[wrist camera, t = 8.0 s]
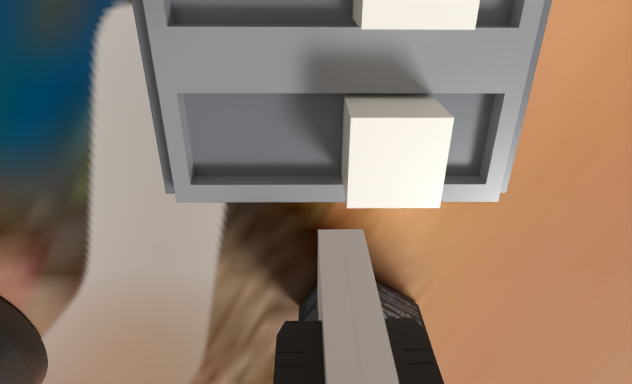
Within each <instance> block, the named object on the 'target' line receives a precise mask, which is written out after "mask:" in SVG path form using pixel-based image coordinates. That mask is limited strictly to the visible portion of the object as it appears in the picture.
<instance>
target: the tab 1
mask: <svg viewBox="0 0 632 384" xmlns="http://www.w3.org/2000/svg"><path fill="white" fill-rule="evenodd" d="M479 3H480V0H353V16H352V19H353V20H354V21H355V22H356V24H357V25H358V26H359V27H360V28H361V29H401V30H475V27H476V21H477V15H478V9H479Z"/></svg>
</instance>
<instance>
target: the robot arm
mask: <svg viewBox="0 0 632 384" xmlns="http://www.w3.org/2000/svg"><path fill="white" fill-rule="evenodd" d="M318 317H319V321H285V323H284V324H283V326H282V328H281V329H280V331H279V333H278V334H277V339H276V355H275V369H274V381H273V384H444V382H443V379H442V376H441V373H440V370H439V367H438V366H437V361H436V358H435V355H434V353H433V352H432V347H431V344H430V341H429V338H428V335H427V332H426V331H425V330H424V329H423V327H422V326H421V325H420V324H419V323H418V322H417V321H416V319H415V318H384V316H383V312H382V307H381V303H380V299H379V294H378V290H377V286H376V281H375V277H374V273H373V269H372V264H371V260H370V256H369V251H368V247H367V243H366V238H365V234H364V230H363V229H343V230H318ZM47 368H48V359H47V353H46V349H45V346H44V344H43V342H42V340H41V338H40V336H39V335H38V333H37V332H36V330H35V329H34V328H33V326H32V325H31V324H30V323H29V322H28V320H27V319H26V318H25V317H24V316H23V315H21V314H20V313H19V312H18V311H17V310H16V309H14V308H13V307H12V306H11V305H9V304H8V303H6V302H5V301H3V300H2V299H0V384H42V382H43V380H44V378H45V376H46V373H47Z"/></svg>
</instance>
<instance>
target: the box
mask: <svg viewBox="0 0 632 384" xmlns="http://www.w3.org/2000/svg"><path fill="white" fill-rule="evenodd" d="M376 286H377V290H378V294H379V299H380V303H381V307H382V312H383V316H384V318H415V319H416V321H417V322H418V323H419V324H420V325H421V326H422V327H423V329H424V330H425V331H426V327H425V325H424V322H423V319H422V315H421V312H420V309H419V306H418V305H417V304H416V303H414V302H412V301H410V300H408V299H407V298H405V297H403V296H401V295H400V294H398V293H396V292H394V291H392V290H391V289H389V288H387V287H385V286H383V285H381V284H380V283H378V282H376ZM299 321H319V317H318V285H317V286H316V287H315V289H314V290H313V291H312V292H311V293H310V294H309V295H308V297H307V298H306V299H305V300H304V301H303V302H302V304H301V305H300V306H299ZM426 332H427V331H426ZM427 335H428V334H427ZM428 338H429V337H428ZM429 341H430V340H429ZM430 344H431V343H430ZM431 347H432V346H431ZM432 352H433V349H432ZM437 366H438V364H437Z"/></svg>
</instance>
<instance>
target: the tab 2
mask: <svg viewBox="0 0 632 384" xmlns="http://www.w3.org/2000/svg"><path fill="white" fill-rule="evenodd" d="M453 123H454V117H453V116H452V115H451V114H450V113H449V112H448V111H447V110H446V109H445V108H444V107H443V106H442V105H441V104H440V103H439V102H438V101H437V100H436V99H435V97H434V96H433V95H432V94H344V111H343V139H342V167H341V175H342V181H343V187H344V194H345V200H346V206H347V208H440V204H441V198H442V191H443V185H444V179H445V173H446V166H447V160H448V154H449V148H450V141H451V135H452V129H453Z"/></svg>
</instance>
